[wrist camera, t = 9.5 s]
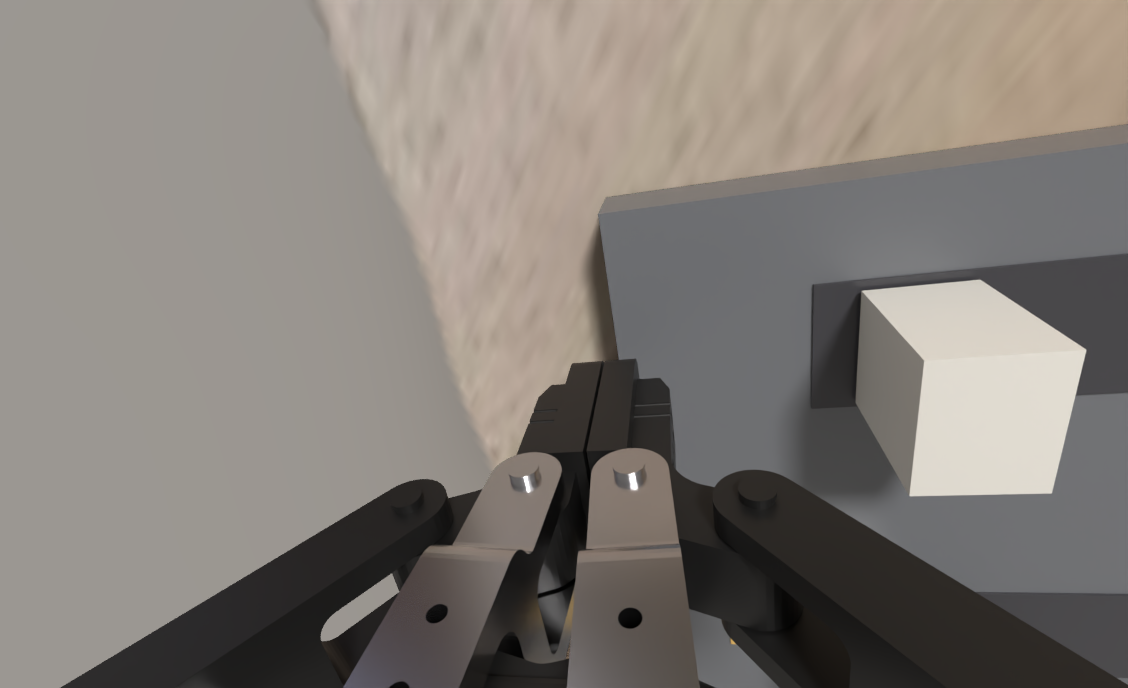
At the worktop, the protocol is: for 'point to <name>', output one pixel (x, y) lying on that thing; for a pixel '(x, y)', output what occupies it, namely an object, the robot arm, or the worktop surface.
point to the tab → (965, 389)
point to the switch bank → (830, 354)
